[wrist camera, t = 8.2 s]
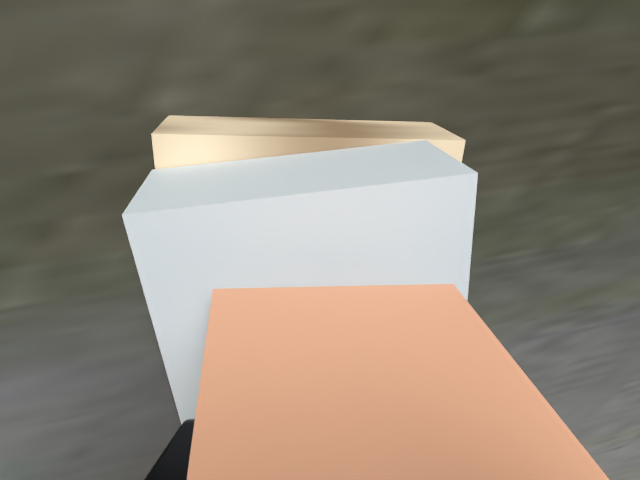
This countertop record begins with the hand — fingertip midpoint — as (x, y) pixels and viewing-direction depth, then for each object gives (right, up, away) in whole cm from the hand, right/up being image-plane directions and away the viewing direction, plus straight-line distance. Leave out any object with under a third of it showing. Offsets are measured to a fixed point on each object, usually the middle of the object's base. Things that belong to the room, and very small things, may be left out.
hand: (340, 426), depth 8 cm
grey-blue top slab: (-1, +2, +5) cm, 5 cm away
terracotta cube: (0, 0, +1) cm, 1 cm away
